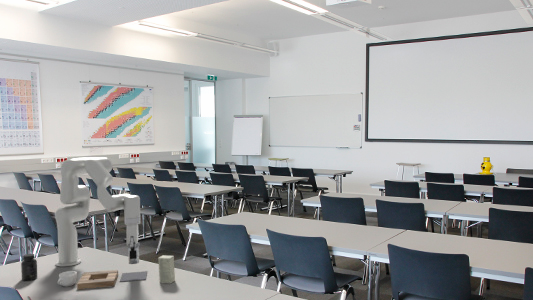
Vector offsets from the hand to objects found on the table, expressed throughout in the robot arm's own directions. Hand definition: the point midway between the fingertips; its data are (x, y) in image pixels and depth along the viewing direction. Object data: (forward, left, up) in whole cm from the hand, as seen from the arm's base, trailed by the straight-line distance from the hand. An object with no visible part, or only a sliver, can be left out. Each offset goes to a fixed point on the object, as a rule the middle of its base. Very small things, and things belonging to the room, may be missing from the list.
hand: (133, 256), depth 210 cm
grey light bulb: (0, 0, -3) cm, 3 cm away
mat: (0, 0, -10) cm, 10 cm away
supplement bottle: (-10, -50, -10) cm, 52 cm away
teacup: (+4, -30, -10) cm, 32 cm away
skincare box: (+11, +16, -10) cm, 22 cm away
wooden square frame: (+3, -16, -10) cm, 19 cm away
